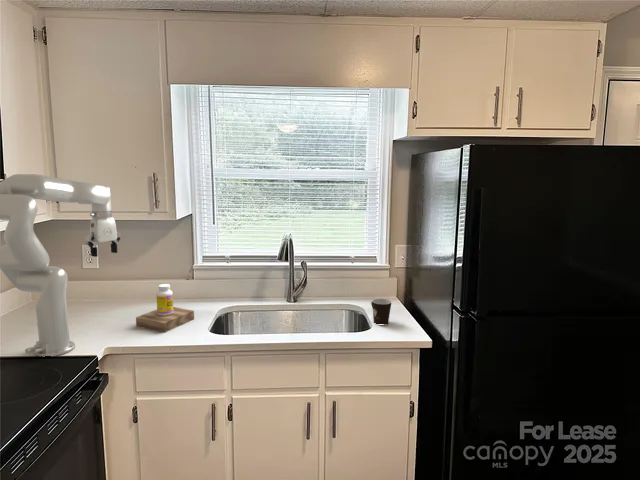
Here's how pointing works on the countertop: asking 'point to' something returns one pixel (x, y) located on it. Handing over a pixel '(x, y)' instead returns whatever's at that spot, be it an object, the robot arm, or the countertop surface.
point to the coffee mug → (381, 310)
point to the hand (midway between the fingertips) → (104, 254)
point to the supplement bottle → (164, 300)
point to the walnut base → (164, 319)
